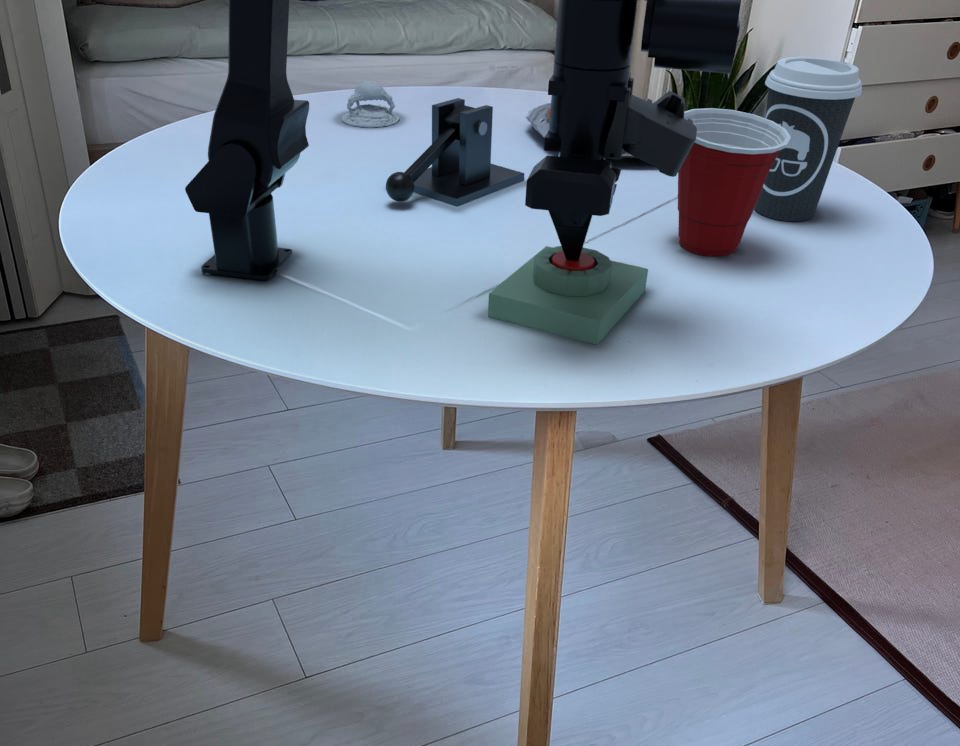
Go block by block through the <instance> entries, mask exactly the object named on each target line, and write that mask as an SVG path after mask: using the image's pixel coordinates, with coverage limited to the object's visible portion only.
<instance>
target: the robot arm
mask: <svg viewBox="0 0 960 746" xmlns="http://www.w3.org/2000/svg"><path fill="white" fill-rule="evenodd" d="M645 1H646V3H645V4H646V5H645V12H644V19H643V26H642V35H641V45H640V52H643V53H647V58H650V59H651V58H652V59H654V62H653V68H657V69H658V68H659V69H669V70H680V71H682V70H683V71H694V72H706V73H720V74H731V72H732V70H733V65H734V60H735V56H736V51H737V45H738V39H739V34H740V29H741V23H740V11H741V4H742V0H645ZM638 4H639V0H558V5H557V17H556V18H557V19H556V32H555V46H554V58H553V72H552V75H551V77H550V78H549V80H548V85H547V86H548V87H547V96H550V97H551V98H550V103H551V110H550V123H549V130H548V132H547V134H546V136H545V138H544V142H543V151H544V152H554V153H555V152H556V153H558V156H557V155H556V156H555V155H548V154H547V155H545V156H544V157H543V158H542V159H541V160H540V161H539V162H537V163H536V164H535V165H534V166H533V168H532V169H531V171H530V174H529V176H528V177H527V179H526V183H525V184H526V185H525V201H524V206H525V207H527V208H529V209H532V210H541V211H547V212H548V213H549V216H550V220H551V222H552V224H553V226H554V229H555V233H556V236H557V237H558V241H559V243H560V246H562V249H563V252H564V255H565V258H566V259H567V260H571V261H578V260H579V258H580V255H581V252H582V248H584V244H585V242H586V240H587V239H586V238H587V235H588V232H589V228H590V226H591V221H592V219H593V216H596V217H603V216H607V215H609V214H610V211H611V208H612V205H613V200H614V195H615V192H616V190H617V186H618V184H617V182H618V181H619V179H620V176H621V173H622V169H621V168H620V167H619V166H618V167H617V166H612V162H611V161H609V160H616V161H617V160H618V161H620V160H622V158H621V157H622V153H625V154H626V152H627V153H629V154H630V155H632V156H634V157H636V159H638V160H641V161H643V162H644V163H647V164H648V165H651V166H653V167H654V168H657V169H658V172H659V173H660V174H663V175H664V176H668V177H671V178H675V177H677V176H678V171H679V170H680V168H681V166H682V164H683V162H684V160H685V159H686V157H687V155H688V153H689V151H690V149H691V148H692V146H693V144H694V142H695V140H696V135H697V127H696V126H695V125H694V124H693V120H691V119H688V120H686V119H684V112H685V106H686V101H685V100H686V98H685V97H684V96H681V95H679V94H677V93H675V92H673V91H671V90H668V91H667V92H665V94H663V95H662V96H660V97H659V98H658V99H657V100H656V101H654V102H653V100H652V99H650V98H647V100H645V99H643V98H640V97H639V96H637V95H634V94H633V91H634V90H633V89H634V83H635V82H634V81H635V78H634V77H631V74H632V73H631V72H630V70H631V61H632V52H633V44H634V37H635V28H636V19H637V11H638ZM289 14H290V0H228V55H227V57H228V59H227V60H228V61H227V63H228V68H227V69H228V70H227V77H226V81H225V84H224V86H223V89H222V92H221V94H220V97H219V100H218V103H217V106H216V108H215V111H214V112H213V113H214V114H213V117H212V124H211V129H210V135H209V141H208V146H207V147H208V148H207V160H208V161H207V162H206V163H205V165H204V166H202V168H201V169H200V170H199V171H198V173H196V175H194V177H193V178H192V179H191V181H189V182H188V184H187V185H186V186H185V187H184V191H185V194H186V195H187V198H188V200H189V201H190V204H191V206H192V208H193V210H194V211H195V212H196V213H204V214H208V217H209V225H210V231H211V238H212V245H213V251H214V255H213V256H212V257H210V258H209V259H208V260H207V261H206V262H204V263H203V264H202V265H201V266H200V269H201V273H203V274H209V275H218V276H224V277H225V276H227V277H232V278H241V279H250V280H257V281H268V280H270V279H271V278H272V277H273V276H274V275H275V274H276V273H277V272H278V269H279V268H280V267H281V266H282V265H283V264H284V263H285V262H286V261H287V260H288V259H289V258H290V257H291V256H292V255H293V249H291V248H286V247H279V244H278V242H279V241H278V233H277V232H278V231H277V225H276V215H275V204H274V196H273V194H272V193H273V192H274V191H275V190H277V189H279V188H281V187H282V186H283V184H284V181H285V177H286V173H287V172H288V171H290V170H291V169H292V168H293V167H294V166H295V165H296V164H297V163H298V161H299V160H300V156H301V153H303V152H304V151H305V150H306V149H307V148H309V146H310V143H309V141H308V138H307V129H306V126H307V120H308V115H309V111H310V101H309V100H305V99H295V98H294V96H293V93H292V90H291V86H290V84H289V82H288V74H287V66H288V65H287V64H288V63H287V62H288V43H289V42H288V40H289V39H288V38H289V17H290V15H289ZM634 157H633V158H634ZM607 159H608V160H607Z"/></svg>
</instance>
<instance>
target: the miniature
mask: <svg viewBox="0 0 960 746" xmlns="http://www.w3.org/2000/svg"><path fill="white" fill-rule="evenodd" d="M366 101H383V102H386V103H387V105H388V106H389V107H387V106H382V105H381V104H370V103H369V104H360V102H366ZM354 103H355V104H356V106H355V107H353V106H354ZM352 107H353V108H352ZM395 107H396V105H395V102H394V100H393V96H392V95H390V94H389V93H388V92H387V91H386V90H385V89H384V87H383V86H382V85H381V84H380V83H378V82H377V81H376V82H375V81H370V80H364V81H361V82H360V83H359V84H357V86H356V87H355V89H354V93H353V94H351V95H350V97H348V98H347V103H346V109H347V110H348V112H346V113H344V114H343V115H342V116H341V121H342V122H343V124H346V125H348V126H352V127H357V128H358V127H360V128H385V127H389V126H393V125H396V124H397V123H398V122H399V121H400V117H399V115H398V114H396V113H395V112H394V109H395Z"/></svg>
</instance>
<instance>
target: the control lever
mask: <svg viewBox="0 0 960 746" xmlns="http://www.w3.org/2000/svg"><path fill="white" fill-rule="evenodd" d="M474 108H475V107H473V106H470V105H462V104H459V105H458V106H457V107H456V108H455V109H454V110H453V111H452V112H451V113H450V114H449V115H448V116H447V117H446V118H445V119H444V121H445V124H446V127H447V129H446V130H445V131H444V132H443V133H442V134H441V135H440V136H439V137H438V138H437V139H436V140H435V142H434V143H433V144H432V143H431V145H430V146H428V148H427V149H425V151H423V153H422V154H421V155H419V157H418V158H416V160H415V161H414V162H413V163H412V164H411V165H410V166H409V167H408V168H407V169H406V170H405V171H404V172H403V171H396V172H393V173H391V174H390V175H389V176H388V177H387V179H386V181H385V192H386V194H387V195H388V198H390V199H391V200H393V201H395V202H398V203H399V202H400V203H402V202H406V201H408V200H409V199H411V197H412V196H413V195H414V182H415V181H416V180H417V179H418V178H419V177H420V176H421V175H422V174H423V173H424V172H425V171H426V170H427V169H428V168H430V167H431V166H432V163H433V162H434V161H435V160H436V159H437V158H438V157H439V156H440V155H441V154H442V153H443V152H444V151H445V150H446V149H447V148H448V147H449V146H450V145H451V144H452V143H453V142H454V141H455V140H459V141H460V112H464V111H467V110H471V109H474Z"/></svg>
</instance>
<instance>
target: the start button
mask: <svg viewBox="0 0 960 746" xmlns="http://www.w3.org/2000/svg"><path fill="white" fill-rule="evenodd" d="M552 265H554V266H555V267H557V268H560V269H564V270H568V271H585V270H589V269H593V268H594V259H593V258H592V257H591V256H590V255H588V254H585V253H581V255H580V258H579V260H578V261H571V260H567V259H566V258H565V255H564V252H560V253H557V254H555V255H554V256H553V258H552Z"/></svg>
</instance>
